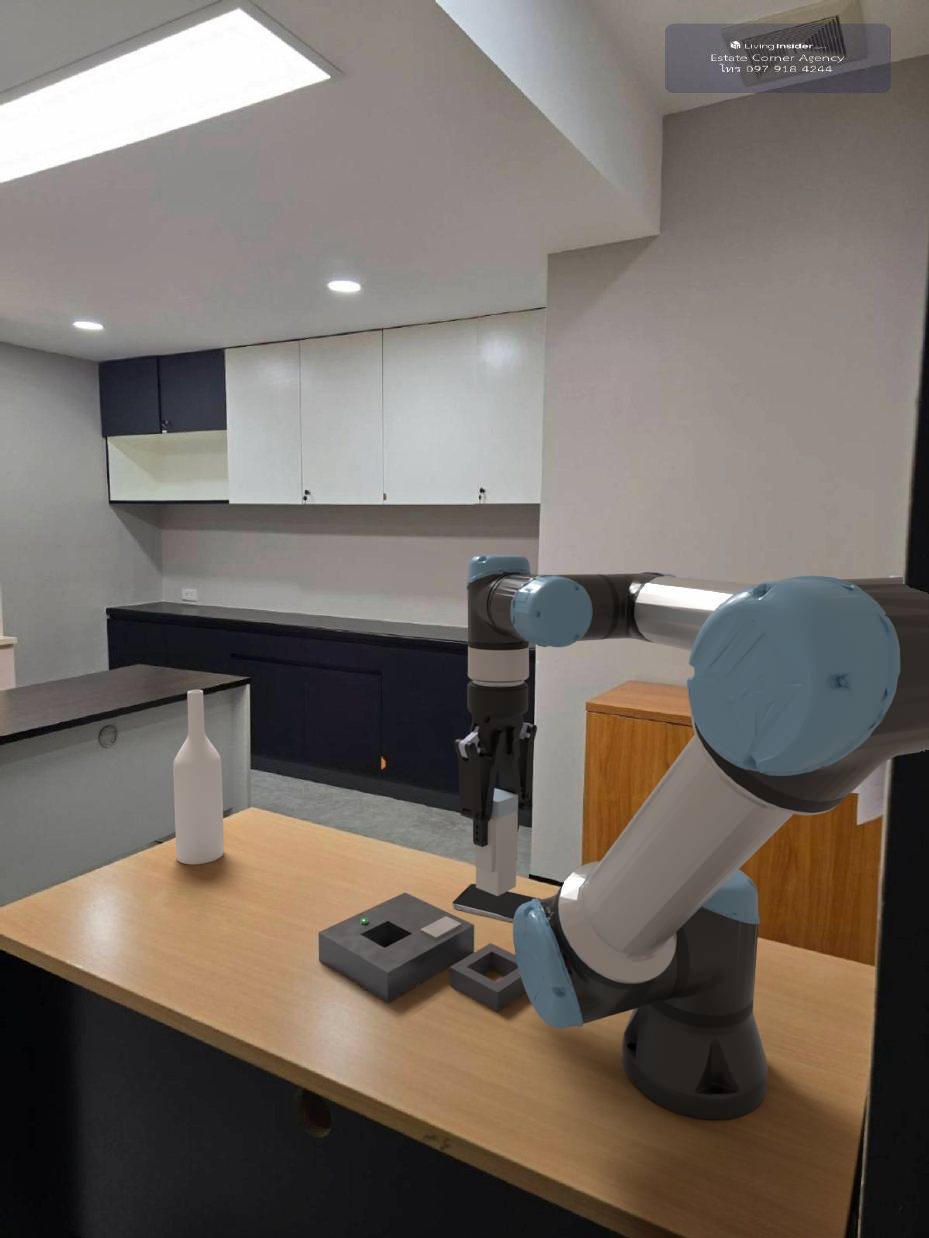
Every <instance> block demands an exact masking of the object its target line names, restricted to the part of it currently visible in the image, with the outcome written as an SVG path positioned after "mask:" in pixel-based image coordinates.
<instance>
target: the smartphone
mask: <svg viewBox="0 0 929 1238" xmlns="http://www.w3.org/2000/svg"><path fill="white" fill-rule="evenodd" d="M536 898H537V899H538V900H540V899H541V898H539V897H535V896H529V895H525V894H521V893H517V892H513V891H507V892H505V893H503V894H501V895H499V896H496V895H493V894H491V893H489V892H486V891H484V890H481V889H479V888H476V883H470V884H469V885H468V886H467V887H466V888H465V889H464V890H463V891H462V892H461V893H460V894H459V895H458V896H457V897H456V898H455V899H454V900H453V901H452V902H451V903H452V904H451V907H452V908H453V909H454V910H458V911H461V912H464V913H469V914H472V915H473V914H474V915H477V916H483V917H488V918H492V919H496V920H500V921H504V922H509V923H512V924H513V920H514V916H515V913H516V911H517V909H518V908H519V906H521V905H522V904H524V903H527V902H530V901H532V899H536Z"/></svg>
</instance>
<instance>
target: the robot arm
mask: <svg viewBox="0 0 929 1238" xmlns="http://www.w3.org/2000/svg"><path fill="white" fill-rule="evenodd" d="M903 577H904V576H898V577H897V576H896V577H895V576H893V577H892V576H891V577H877V578H876V577H871V578H869V577H868V578H846V579H845V578H844V579H843V578H842V579H839V578H836V577H831V576H821V575H799V576H798V575H797V576H792V577H790V578H783V579H779V580H777V581H767V582H762V583H758V584H756V583H746V582H735V581H734V582H733V581H725V580H714V579H712V580H711V579H704V578H703V579H702V578H692V577H691V578H690V577H680V576H676V575H674V574H670V573H663V572H655V571H653V572H652V571H650V572H649V571H647V572H645V571H644V572H641V573H609V574H607V573H606V574H605V573H603V574H601V573H599V574H597V573H595V574H593V573H592V574H590V573H589V574H585V573H582V574H577V573H576V574H574V573H573V574H570V573H569V574H532V572H531V568H530V562H529V559H528V558H527V557H526V556H523V555H513V554H512V555H505V554H504V555H503V554H501V555H499V554H497V555H495V554H491V555H489V554H488V555H485V554H484V555H483V554H481V555H480V554H479V555H474V556H473V557H472V558H471V559H470V560H469V563H468V575H467V583H466V590H467V677H468V678H469V679H470V681H469V682H468V683H467V687H466V688H467V689H466V690H467V693H466V694H467V702H466V704H467V706H466V707H467V710H468V712H470V714H471V716H472V722H471V725H470V729H469V734H468V735H467V736H466V737H465V738H464V739H461V738H457V739H455V741H454V743H453V746H454V750H455V752H456V753H455V754H456V756H457V761H458V762H457V764H458V765H457V766H458V787H459V788H458V789H459V791H458V792H459V793H458V794H459V812H460V813H459V814H460V815H461V816H462V817H465V818H468V819H471V820H472V842H473V845H474V867H475V868H476V867H477V868H480V869H483V870H485V871H488V872H490V873H492V872H494V871H495V840H496V820H494V819H491V814H492V806H493V798H494V790H495V788H496V781H497V774H498V777H499V789H500V790H503V791H506V792H510V793H513V794H517V795H518V810H517V834H516V862H517V861H518V834H519V833H518V832H519V829H520V811H526V810H527V807H528V804H527V803H525V802H524V801H526V802H527V801H530V799H531V797H532V787H533V786H532V784H533V783H532V780H533V764H534V763H533V761H534V743H535V739H536V735H537V731H538V726H537V725H536V724H533V723H528V722H524V718H523V715H524V714H526V713H527V711H529V710H528V709H529V684H527V682H526V681H525V680H527V679H528V678H529V677H530V650H529V649H530V646H529V645H530V644H532V645H536V646H539V647H542V648H547V647H552V648H564V647H569V646H571V645H572V644H574V643H576V642H581V641H582V642H583V641H584V642H585V641H600V640H603V641H604V640H613V639H614V640H615V639H618V640H619V639H632V640H634V639H635V640H639V641H643V642H647V643H654V644H658V645H664V646H668V647H672V648H676V649H681V650H686V651H690V654H689V661H688V665H689V666H691V667H693V671H694V672H693V673H694V674H693V676H691V677H688V678H687V680H686V686H687V687H686V691H687V699H688V703H689V708H690V711H691V712H690V716H691V717H690V718H691V720H690V721H691V726H692V730H693V734H694V735H693V736H692V738H691V739H690V740H689V741H688V743H687V744H686V745H685V747H684V748H683V749H682V751H681V752H680V753H679V755H678V756H677V758H676V759H675V760H674V761H673V763H672V764H671V766H670V768H668V770H667V771H666V772H665V773H664V775H663V776H662V778H661V780H659V782H658V783H657V784H656V786H655V787H654V789H653V790H652V792H651V793H650V794H649V795H648V797H647V798H646V799H645V801H644V802H643V803H642V805H641V806H640V807H639V809H638V810H637V812H636V813H635V814H634V816H633V817H632V818H631V820H630V821H629V822H628V824H627V825H626V826H625V828H624V829H623V831H622V832H621V833H620V835H619V836H618V837H617V838H616V840H615V842H614V843H613V844H612V846H610V848H609V850H607V852H606V853H605V855H604V856H603V857H602V859H601V860H600V861H599V860H598V861H591V862H589V863H585V864H583V865H581V866H579V867H578V868H576V869H575V870H574V871H572V872H571V874H569V876H568V877H567V878H566V879H565V881H564V882H563V884H562V885H561V886H560V888H559V889H558V891H557V892H556V894H555V893H554V895H552V896H550V897H547V898H545V897H544V898H539V899H540V900H538V899H537V898H538V897H535V898H536V899H532V901H530V902H527V903H524V904H522V905H521V906H519V908H518V909H517V911H516V913H515V916H514V920H513V923H512V941H513V948H514V955H515V956H516V960H517V965H518V968H519V972H520V976H521V979H522V982H523V985H524V988H525V990H526V992H525V993H526V995H527V997H528V1000H529V1002H530V1003H531V1005H532V1007H533V1009H534V1010H535V1013H537V1015H538V1016H539V1017H540V1019H541V1020H542V1021H543V1022H544V1024H546V1025H548V1026H549V1027H551V1028H554V1029H566V1028H567V1029H568V1028H572V1027H579V1028H581V1027H583V1026H584V1024H588V1023H591V1022H595V1021H598V1020H602V1019H605V1018H608V1017H612V1016H616V1015H618V1014H622V1013H625V1012H628V1011H632V1012H631V1014H630V1016H629V1019H628V1022H627V1023H626V1026H625V1029H624V1031H623V1037H622V1049H621V1050H622V1052H621V1053H622V1054H621V1060H622V1065H623V1069H624V1071H625V1073H626V1075H627V1077H628V1079H629V1080H630V1081H631V1083H632V1084H633V1085H634V1086H635V1087H636V1088H637V1089H638V1091H640V1092H641V1093H642V1094H643V1095H644V1096H646V1098H648V1099H650V1100H651V1101H653V1102H654V1103H656V1104H658V1105H659V1106H662V1107H663V1108H666V1109H668V1110H670V1111H672V1112H675V1113H678V1114H681V1115H684V1116H688V1117H693V1118H697V1119H703V1120H727V1119H734V1118H738V1117H741V1116H744V1115H747V1114H748V1113H750V1112H752V1111H753V1110H755V1109H756V1108H757V1107H758V1106H759V1105H760V1104H761V1103H762V1102H763V1100H764V1098H765V1097H766V1095H767V1090H768V1089H767V1088H768V1073H769V1072H768V1068H769V1067H768V1061H767V1057H766V1053H765V1050H764V1045H763V1043H762V1039H761V1035H760V1033H759V1029H758V1028H759V1027H758V1026H757V1022H756V1019H755V1015H754V995H755V980H756V968H757V967H756V966H757V954H758V952H757V950H758V938H759V935H758V934H759V924H760V921H761V917H760V915H759V893H758V889H757V886H756V885H755V883H754V881H753V880H752V879H751V877H749V876H748V875H747V874H746V873H744V872H743V871H742V870H740V868H742V866H744V865H745V863H747V862H748V861H749V859H751V857H752V856H754V854H756V852H758V850H759V849H760V848H762V847H763V846H764V844H766V842H767V841H768V840H769V839H770V838H772V837H773V835H775V833H776V832H777V831H778V830H779V829H780V828H781V827H783V825H785V823H787V821H788V820H789V819H790V818H791V817H792V816H793V815H798V816H813V815H815V816H816V815H820V814H821V815H822V814H824V813H827V812H830V811H831V810H833V809H835V808H836V807H838V806H839V805H840V804H841V803H842V802H844V800H845V799H846V798H848V797H849V795H850V794H851V793H853V792H854V791H855V790H856V788H858V787H859V786H860V785H861V784H862V783H863V782H864V781H865V780H866V779H867V778H868V777H870V775H872V774H873V773H874V771H876V770H877V769H878V768H879V767H881V766H882V765H883V764H885V763H886V762H887V761H889V760H891V759H893V758H895V757H897V756H903V755H909V754H917V753H921V751H923V752H926V751H925V750H929V594H928V593H927V592H923V591H920V590H917V589H914V588H910V587H909V586H908V585H905V584H903ZM529 643H530V644H529ZM481 809H482V810H481Z"/></svg>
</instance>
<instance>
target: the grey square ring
mask: <svg viewBox="0 0 929 1238" xmlns="http://www.w3.org/2000/svg"><path fill="white" fill-rule="evenodd" d="M491 970H493V971H494V972H496V973H498V974H501V975H502V976H503V977H501V979H499V980H497V981H495V980H493V979H491V978H489V977H487V976H485V975H484V974H486V973H488V972H489V971H491ZM449 986H451V987H452V988H454V989H456V990H457V991H459V992H461V993H463V994H465V995H466V996H468V997H470V998H471V999H474V1000H475V1001H478V1002H479V1003H481V1004H483V1005H484V1006H486V1007H488V1008H490V1009H491V1010H493V1011H495V1012H499V1011H501V1010H502V1009H503V1008H505V1007H506V1006H508V1005H509V1004H510V1003H512V1002H514V1001H515V1000H516V999H518V998H519V997H520V996H522V995H523V994H525V993H526V990H525V988H524V985H523V982H522V979H521V976H520V972H519V968H518V965H517V960H516V956H515V953H512V952H511V951H508V950H506V949H505V948H502V947H500V946H498V945H495V944H493V942H490V943H488V944H487V945H485V946H483V947H481V948H480V949H478V950H476V951H474V952H473V953H472V954H470V955H468V956H467V957H465V958H463V959H461V960H460V961H458V962H456V963H455V964H453V965H451V966H450V967H449Z"/></svg>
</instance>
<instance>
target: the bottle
mask: <svg viewBox="0 0 929 1238" xmlns="http://www.w3.org/2000/svg"><path fill="white" fill-rule="evenodd" d="M186 693H187V696H186V697H187V723H188V724H187V726H188V727H187V730H188V731H187V732H188V733H187V736H186V737H187V738H186V739H185V740H184V742H183V744H182V746H181V747H180V749H179V751H178V752H177V754H176V756H175V757H174V760H173V764H172V765H173V766H172V768H173V771H172V772H173V791H174V792H173V803H174V825H175V853H176V860H177V861H178V862H179V863H181V864H185V865H191V866H192V865H194V866H195V865H196V866H197V865H202V864H209V863H212V862H215V861H217V860H219V859H220V858H221V857H222V856H223V855H224V853H225V849H224V848H225V846H224V845H225V843H224V842H225V839H224V835H225V834H224V808H223V805H224V804H223V802H224V801H223V800H224V798H223V772H222V771H223V769H222V765H223V764H222V758H221V755H220V754H219V752H218V750H217V749H216V748H215V746H214V745H213V744H212V742H211V741H210V740H209V738H208V736H207V735H206V732H205V731H206V729H205V711H204V710H205V708H204V706H205V705H204V691H203V690H201V689H192V690H188V691H187V692H186Z"/></svg>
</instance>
